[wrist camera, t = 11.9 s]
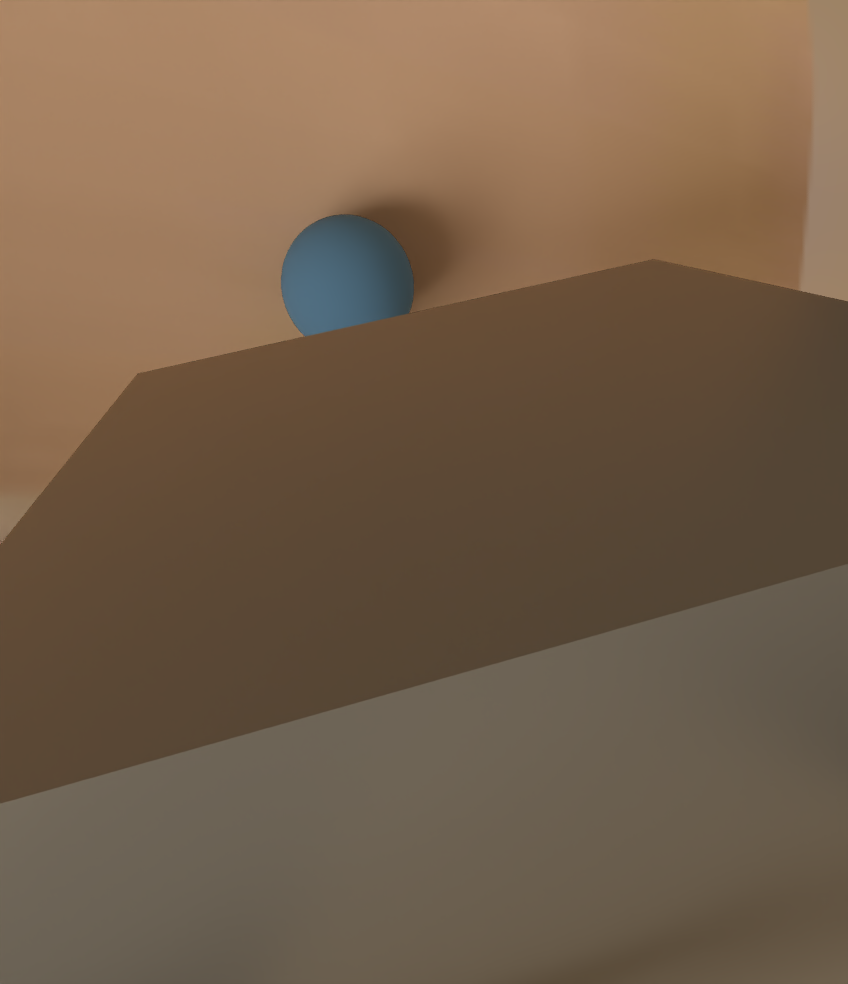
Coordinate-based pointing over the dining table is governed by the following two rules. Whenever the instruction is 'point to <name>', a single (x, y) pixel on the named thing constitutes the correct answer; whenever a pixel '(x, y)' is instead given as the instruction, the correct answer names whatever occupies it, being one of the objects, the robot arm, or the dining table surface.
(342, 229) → the ball
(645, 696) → the matte grey cube
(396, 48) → the dining table surface
